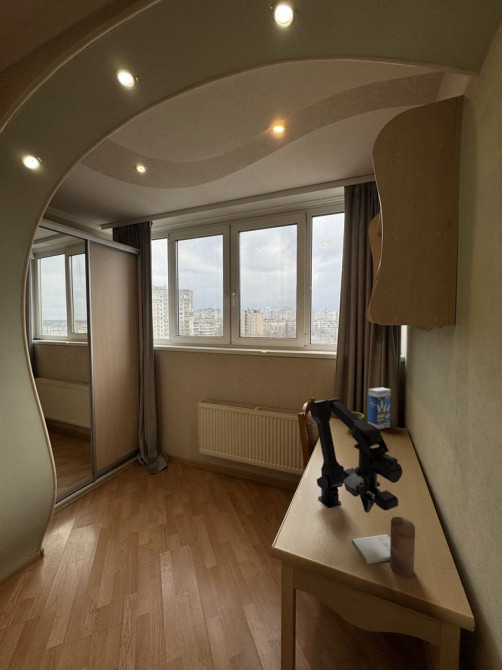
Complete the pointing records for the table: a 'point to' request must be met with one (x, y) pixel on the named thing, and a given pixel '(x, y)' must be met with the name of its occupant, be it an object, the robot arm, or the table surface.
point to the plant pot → (358, 417)
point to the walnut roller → (402, 547)
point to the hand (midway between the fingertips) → (366, 512)
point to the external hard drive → (373, 548)
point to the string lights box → (379, 407)
